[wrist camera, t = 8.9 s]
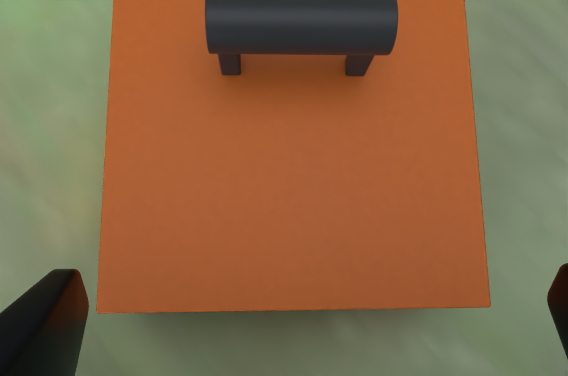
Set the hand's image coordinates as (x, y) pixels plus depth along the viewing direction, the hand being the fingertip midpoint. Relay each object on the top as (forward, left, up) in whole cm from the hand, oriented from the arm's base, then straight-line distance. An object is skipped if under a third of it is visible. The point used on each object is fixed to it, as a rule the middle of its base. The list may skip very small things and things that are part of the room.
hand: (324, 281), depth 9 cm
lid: (+4, +2, -8) cm, 9 cm away
